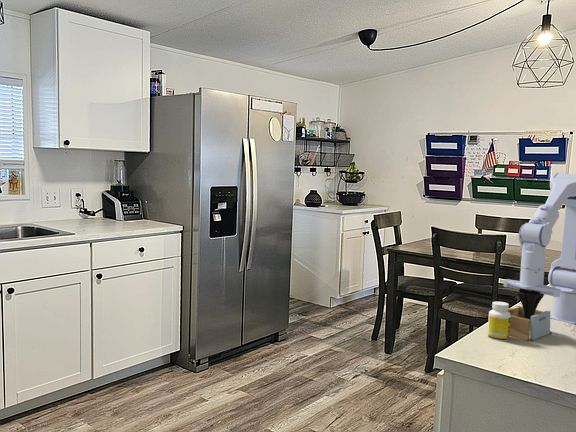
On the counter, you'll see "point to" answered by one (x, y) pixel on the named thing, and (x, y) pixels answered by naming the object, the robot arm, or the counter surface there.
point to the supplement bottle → (499, 322)
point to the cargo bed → (520, 323)
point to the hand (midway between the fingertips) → (529, 317)
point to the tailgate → (540, 325)
